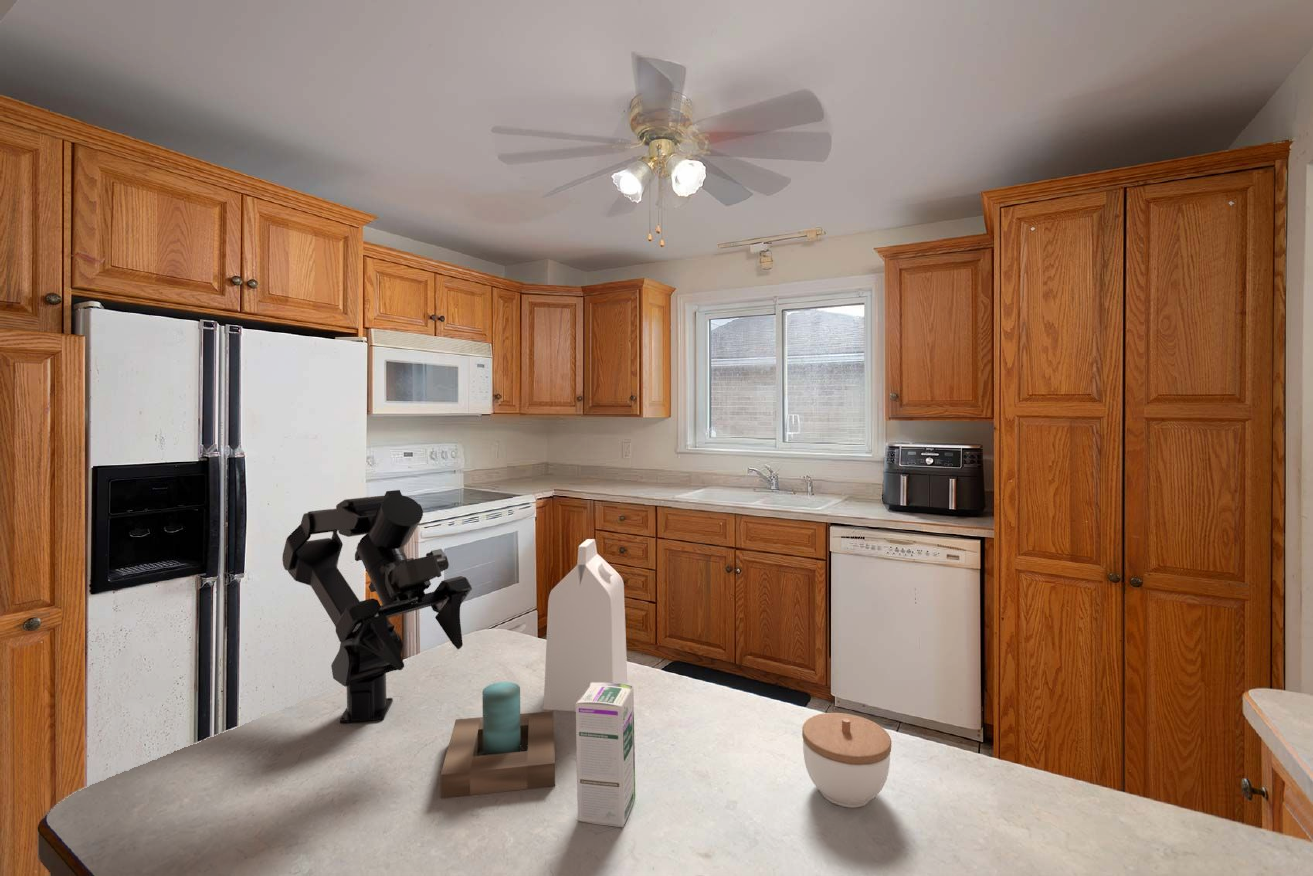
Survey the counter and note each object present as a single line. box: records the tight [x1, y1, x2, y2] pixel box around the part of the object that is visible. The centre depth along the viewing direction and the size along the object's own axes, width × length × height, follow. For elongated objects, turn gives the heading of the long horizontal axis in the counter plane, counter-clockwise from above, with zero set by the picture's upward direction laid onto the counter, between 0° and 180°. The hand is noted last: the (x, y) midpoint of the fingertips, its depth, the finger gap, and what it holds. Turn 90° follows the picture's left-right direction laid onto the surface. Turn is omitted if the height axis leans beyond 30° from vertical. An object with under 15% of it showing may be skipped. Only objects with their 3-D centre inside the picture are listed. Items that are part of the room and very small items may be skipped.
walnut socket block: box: [440, 710, 556, 799], centre depth 85 cm, size 14×14×3 cm
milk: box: [543, 538, 628, 712], centre depth 105 cm, size 12×12×26 cm
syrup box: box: [575, 682, 636, 828], centre depth 75 cm, size 6×6×14 cm
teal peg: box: [481, 681, 522, 755], centre depth 85 cm, size 5×5×10 cm
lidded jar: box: [801, 712, 892, 809], centre depth 78 cm, size 11×11×9 cm
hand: (432, 657), depth 87 cm, fingers open, 9 cm apart
